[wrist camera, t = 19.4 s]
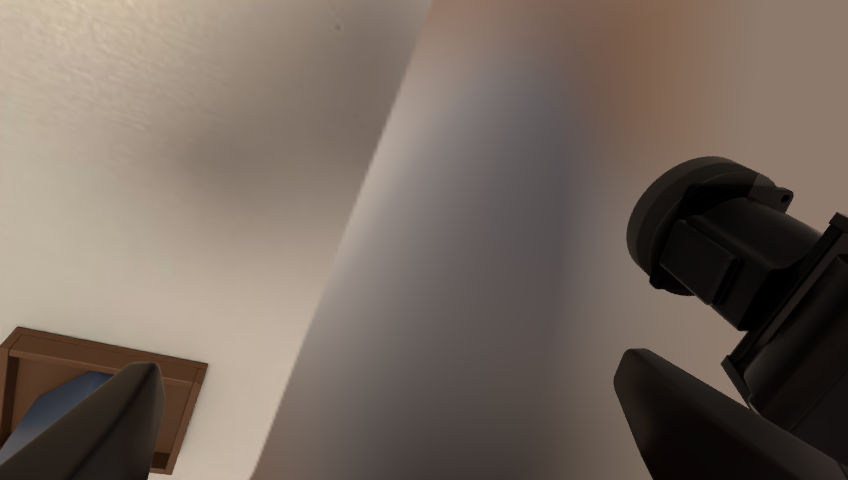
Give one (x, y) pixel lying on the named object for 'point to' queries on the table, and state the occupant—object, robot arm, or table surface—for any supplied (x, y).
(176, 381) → the tray
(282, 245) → the table surface
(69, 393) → the block
